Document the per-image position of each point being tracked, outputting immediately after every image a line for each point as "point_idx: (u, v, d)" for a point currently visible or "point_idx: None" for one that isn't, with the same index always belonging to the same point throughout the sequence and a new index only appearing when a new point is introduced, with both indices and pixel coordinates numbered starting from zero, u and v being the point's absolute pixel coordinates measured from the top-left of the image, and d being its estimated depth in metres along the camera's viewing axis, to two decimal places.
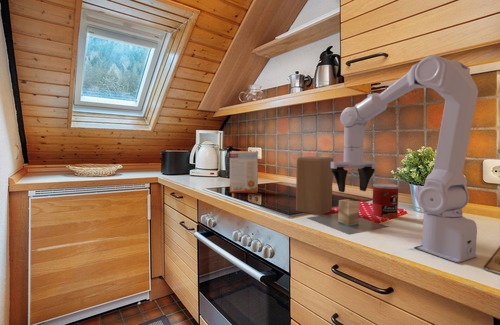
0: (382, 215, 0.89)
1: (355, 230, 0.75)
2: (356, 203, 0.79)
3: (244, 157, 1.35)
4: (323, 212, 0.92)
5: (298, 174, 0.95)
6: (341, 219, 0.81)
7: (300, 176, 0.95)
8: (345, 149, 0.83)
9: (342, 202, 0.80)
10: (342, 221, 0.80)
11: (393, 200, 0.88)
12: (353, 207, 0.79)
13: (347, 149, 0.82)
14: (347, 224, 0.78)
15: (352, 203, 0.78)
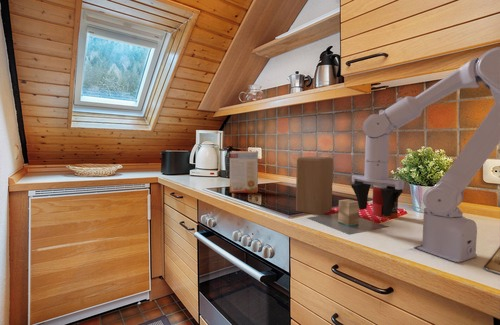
0: (382, 215, 0.89)
1: (355, 230, 0.75)
2: (356, 203, 0.79)
3: (244, 157, 1.35)
4: (323, 212, 0.92)
5: (298, 174, 0.95)
6: (341, 219, 0.81)
7: (300, 176, 0.95)
8: None
9: (342, 202, 0.80)
10: (342, 221, 0.80)
11: None
12: (353, 207, 0.79)
13: None
14: (347, 224, 0.78)
15: (352, 203, 0.78)
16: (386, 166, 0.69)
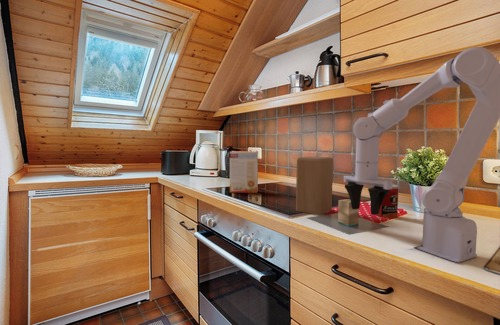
0: (382, 215, 0.89)
1: (355, 230, 0.75)
2: None
3: (244, 157, 1.35)
4: (323, 212, 0.92)
5: (298, 174, 0.95)
6: (341, 218, 0.81)
7: (300, 176, 0.95)
8: None
9: (342, 202, 0.80)
10: (342, 221, 0.80)
11: (393, 200, 0.88)
12: None
13: None
14: (347, 224, 0.78)
15: None
16: (375, 167, 0.72)
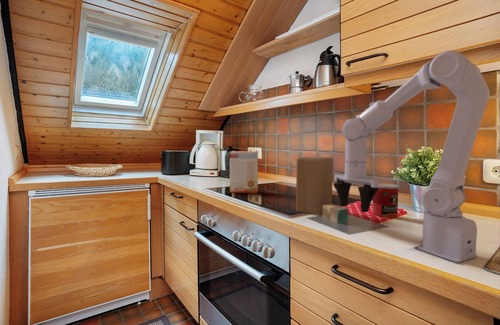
0: (382, 215, 0.89)
1: (355, 230, 0.75)
2: (330, 204, 0.89)
3: (243, 157, 1.35)
4: None
5: (298, 174, 0.95)
6: (334, 217, 0.83)
7: (300, 176, 0.95)
8: None
9: (323, 213, 0.88)
10: (336, 216, 0.82)
11: (393, 200, 0.88)
12: (330, 205, 0.87)
13: None
14: (337, 210, 0.82)
15: (326, 205, 0.88)
16: (363, 166, 0.75)
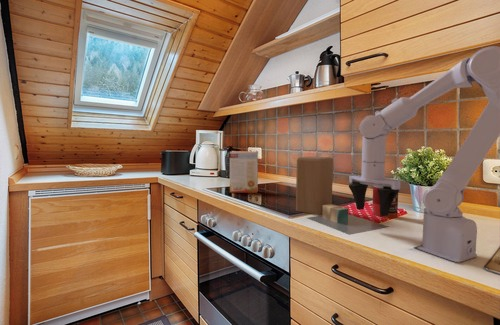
0: None
1: (355, 230, 0.75)
2: (330, 204, 0.89)
3: (244, 157, 1.35)
4: None
5: (298, 174, 0.95)
6: (334, 217, 0.83)
7: (300, 176, 0.95)
8: None
9: (323, 213, 0.88)
10: (336, 216, 0.82)
11: (393, 200, 0.88)
12: (330, 205, 0.87)
13: None
14: (337, 210, 0.82)
15: (326, 205, 0.88)
16: (383, 166, 0.70)
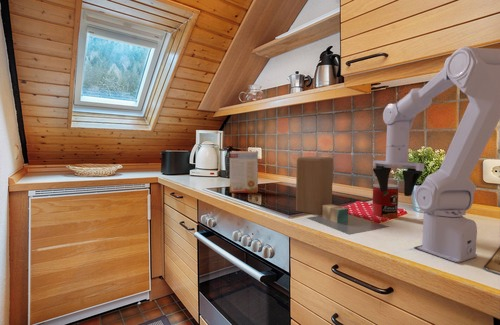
0: (382, 215, 0.89)
1: (355, 230, 0.75)
2: (330, 204, 0.89)
3: (244, 157, 1.35)
4: None
5: (298, 174, 0.95)
6: (334, 217, 0.83)
7: (300, 176, 0.95)
8: None
9: (323, 213, 0.88)
10: (336, 216, 0.82)
11: (393, 200, 0.88)
12: (330, 205, 0.87)
13: None
14: (337, 210, 0.82)
15: (326, 205, 0.88)
16: (407, 150, 0.76)
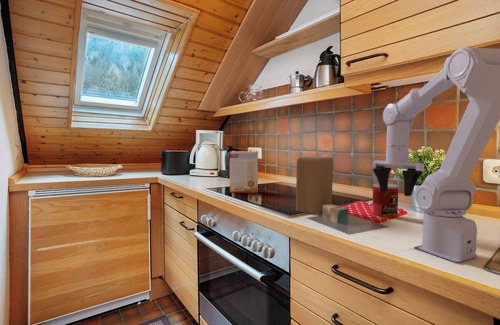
0: (382, 215, 0.89)
1: (355, 230, 0.75)
2: (330, 204, 0.89)
3: (244, 157, 1.35)
4: None
5: (298, 174, 0.95)
6: (334, 217, 0.83)
7: (300, 176, 0.95)
8: None
9: (323, 213, 0.88)
10: (336, 216, 0.82)
11: (393, 200, 0.88)
12: (330, 205, 0.87)
13: None
14: (337, 210, 0.82)
15: (326, 205, 0.88)
16: (407, 150, 0.76)
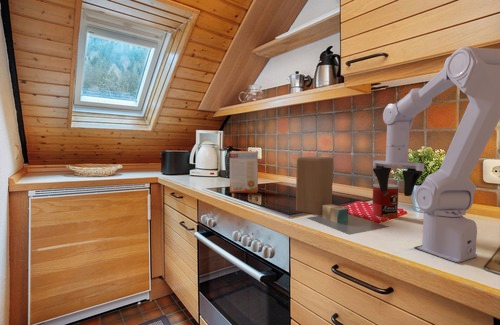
0: (382, 215, 0.89)
1: (355, 230, 0.75)
2: (330, 204, 0.89)
3: (244, 157, 1.35)
4: None
5: (298, 174, 0.95)
6: (334, 217, 0.83)
7: (300, 176, 0.95)
8: None
9: (323, 213, 0.88)
10: (336, 216, 0.82)
11: (393, 200, 0.88)
12: (330, 205, 0.87)
13: None
14: (337, 210, 0.82)
15: (326, 205, 0.88)
16: (407, 150, 0.76)
